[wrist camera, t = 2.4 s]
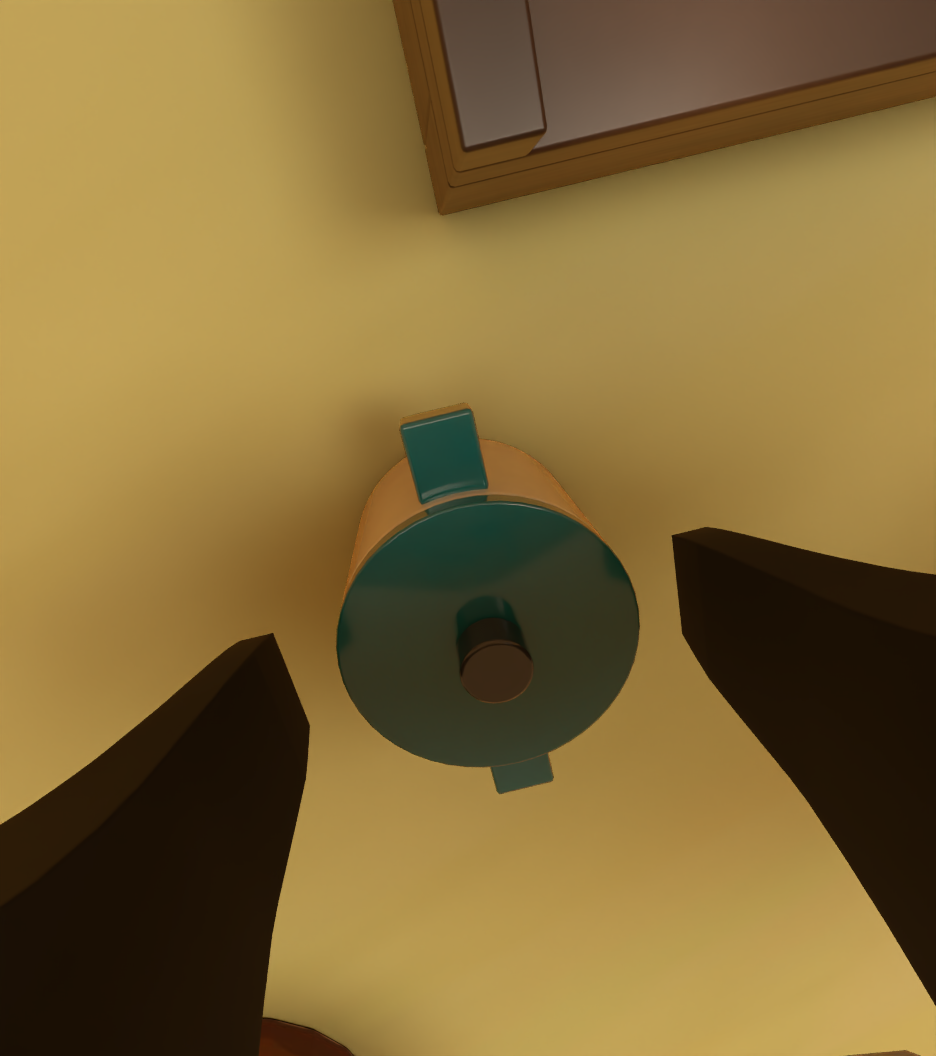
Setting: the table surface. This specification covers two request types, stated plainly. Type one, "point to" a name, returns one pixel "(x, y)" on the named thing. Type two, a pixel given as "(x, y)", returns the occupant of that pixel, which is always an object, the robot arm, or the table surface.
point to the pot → (481, 606)
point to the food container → (296, 1041)
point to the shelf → (641, 81)
